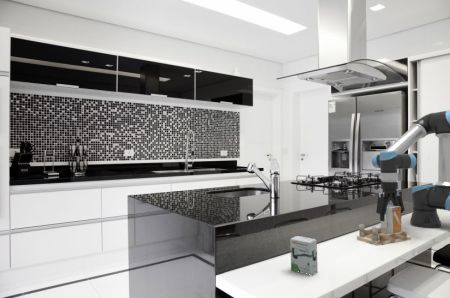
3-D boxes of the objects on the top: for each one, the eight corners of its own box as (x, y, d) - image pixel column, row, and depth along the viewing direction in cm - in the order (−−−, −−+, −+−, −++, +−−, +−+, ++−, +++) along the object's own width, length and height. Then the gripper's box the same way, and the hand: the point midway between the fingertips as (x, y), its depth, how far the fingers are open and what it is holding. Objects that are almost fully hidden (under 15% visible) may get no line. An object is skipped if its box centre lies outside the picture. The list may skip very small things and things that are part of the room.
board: (389, 234, 161) (388, 219, 161) (411, 239, 150) (410, 224, 150) (356, 239, 153) (355, 224, 154) (376, 245, 142) (376, 229, 142)
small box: (393, 235, 149) (392, 207, 149) (380, 232, 154) (379, 206, 154) (402, 232, 153) (401, 206, 154) (389, 230, 158) (388, 204, 159)
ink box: (290, 270, 114) (289, 238, 114) (297, 266, 118) (296, 235, 118) (311, 276, 108) (310, 242, 108) (318, 272, 111) (317, 239, 112)
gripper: (398, 179, 162) (400, 223, 161) (366, 181, 154) (368, 227, 153) (411, 180, 155) (413, 225, 154) (378, 182, 147) (381, 230, 146)
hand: (391, 226), depth 154 cm, fingers closed on small box, 9 cm apart
